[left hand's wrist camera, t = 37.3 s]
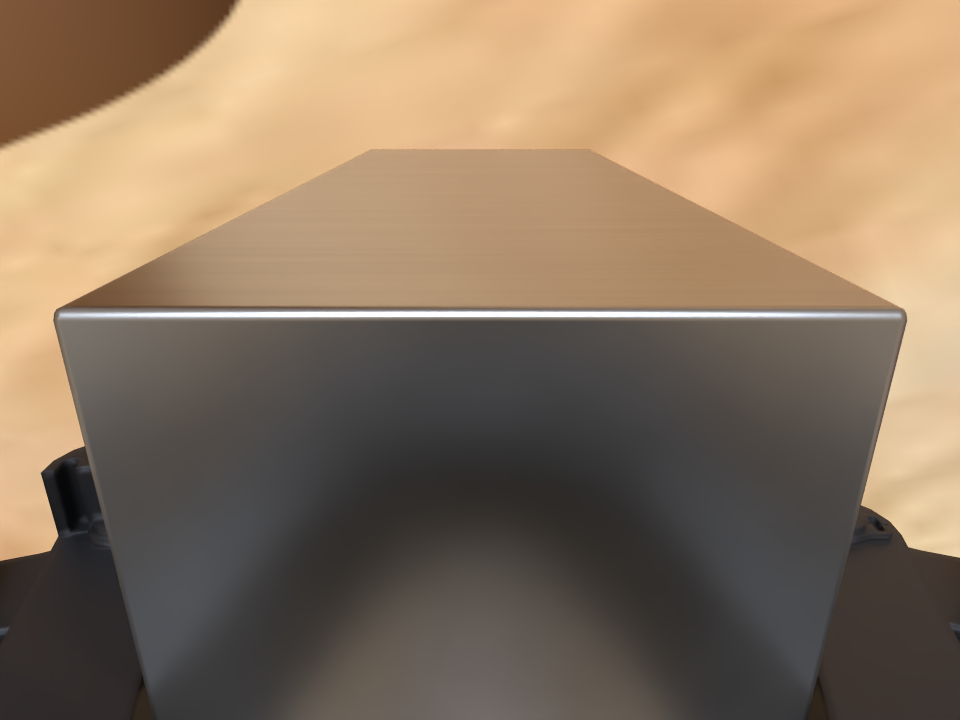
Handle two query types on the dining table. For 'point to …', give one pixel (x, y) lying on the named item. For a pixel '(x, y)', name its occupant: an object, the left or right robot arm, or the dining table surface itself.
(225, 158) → the dining table surface
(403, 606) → the block
